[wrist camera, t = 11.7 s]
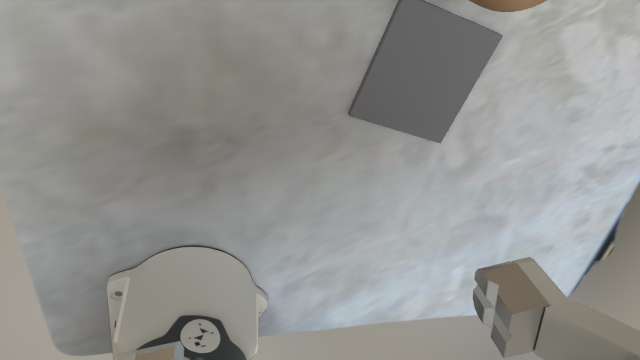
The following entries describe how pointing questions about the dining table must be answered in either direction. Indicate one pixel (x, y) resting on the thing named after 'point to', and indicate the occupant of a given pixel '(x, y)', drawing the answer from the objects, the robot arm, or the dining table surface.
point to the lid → (507, 4)
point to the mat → (423, 70)
